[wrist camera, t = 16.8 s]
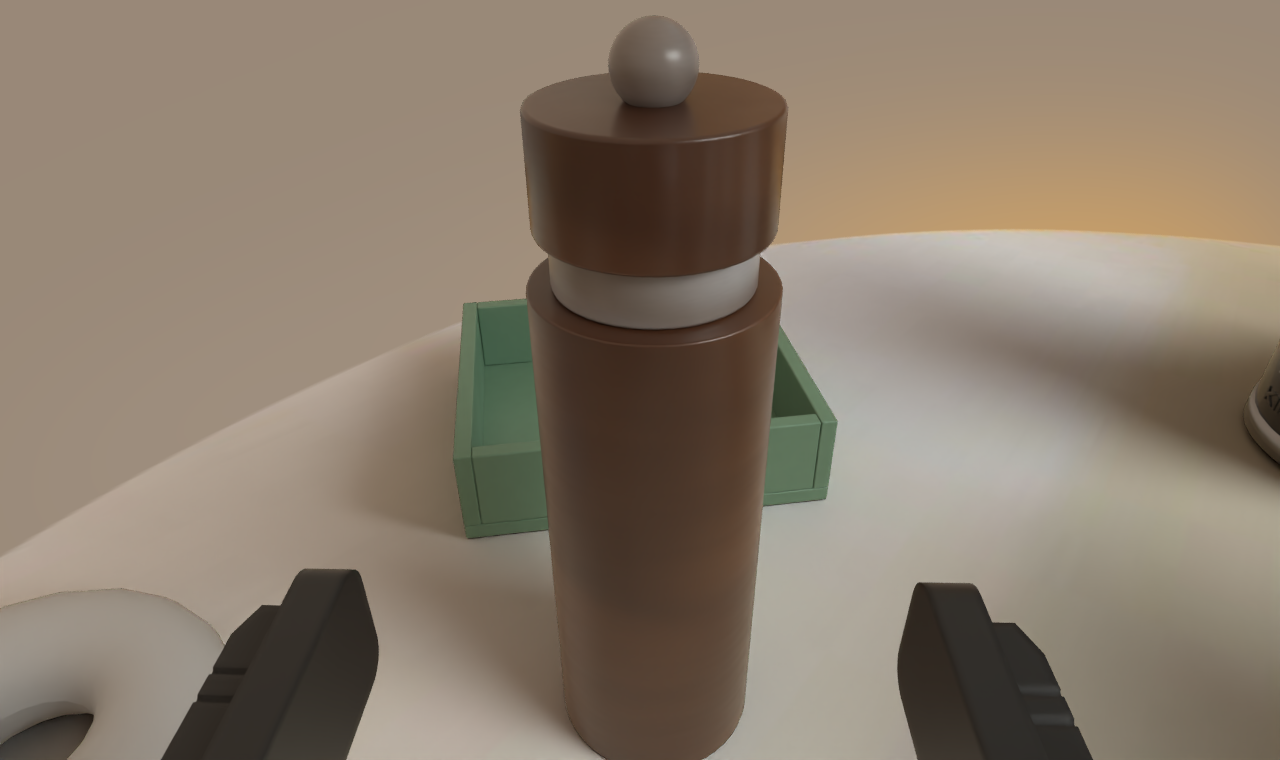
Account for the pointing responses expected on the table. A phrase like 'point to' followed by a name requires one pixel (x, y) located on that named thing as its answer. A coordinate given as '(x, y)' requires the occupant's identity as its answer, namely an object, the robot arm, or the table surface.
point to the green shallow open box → (510, 442)
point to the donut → (104, 668)
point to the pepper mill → (654, 382)
